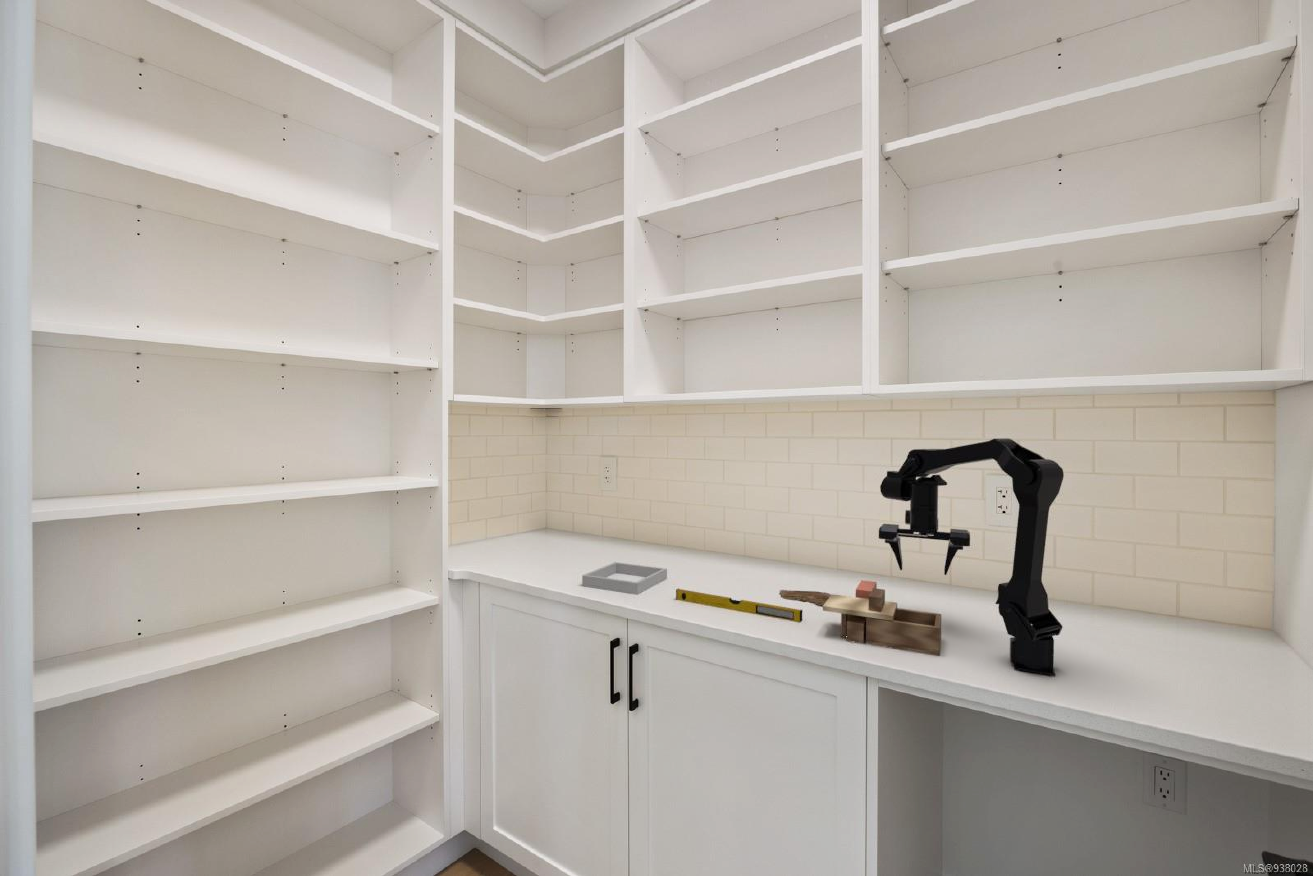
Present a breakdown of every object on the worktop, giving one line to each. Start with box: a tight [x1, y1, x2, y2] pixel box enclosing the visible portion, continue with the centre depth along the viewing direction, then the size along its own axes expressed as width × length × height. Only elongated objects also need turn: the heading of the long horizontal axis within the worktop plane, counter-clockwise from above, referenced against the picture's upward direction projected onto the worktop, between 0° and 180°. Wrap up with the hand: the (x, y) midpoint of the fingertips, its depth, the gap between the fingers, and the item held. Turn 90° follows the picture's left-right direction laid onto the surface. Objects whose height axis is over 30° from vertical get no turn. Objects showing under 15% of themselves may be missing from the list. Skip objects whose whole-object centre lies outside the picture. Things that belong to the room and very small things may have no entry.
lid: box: [822, 588, 898, 621], centre depth 130 cm, size 14×10×4 cm
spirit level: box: [675, 587, 803, 623], centre depth 147 cm, size 33×1×3 cm, turn 58°
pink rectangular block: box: [855, 580, 878, 599], centre depth 140 cm, size 4×9×4 cm, turn 153°
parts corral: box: [581, 561, 668, 595], centre depth 172 cm, size 18×18×3 cm
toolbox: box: [840, 607, 942, 656], centre depth 132 cm, size 19×21×6 cm
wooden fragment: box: [778, 589, 832, 607], centre depth 155 cm, size 26×11×1 cm, turn 52°
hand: (922, 572), depth 135 cm, fingers open, 9 cm apart
